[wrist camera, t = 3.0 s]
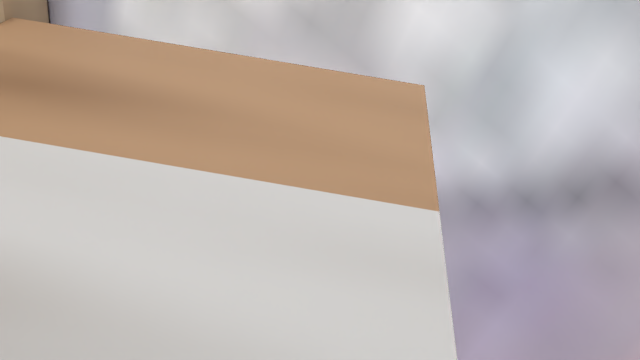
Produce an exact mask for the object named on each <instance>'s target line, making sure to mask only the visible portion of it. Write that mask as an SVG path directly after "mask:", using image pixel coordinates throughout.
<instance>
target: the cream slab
mask: <svg viewBox="0 0 640 360" xmlns="http://www.w3.org/2000/svg"><path fill="white" fill-rule="evenodd" d="M12 17H13V18H19V19H25V20H31V21H37V22H43V23H49V18H48V7H47V0H0V23H2V22H4V21H6V20H8V19H10V18H12Z"/></svg>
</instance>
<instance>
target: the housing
mask: <svg viewBox="0 0 640 360" xmlns="http://www.w3.org/2000/svg"><path fill="white" fill-rule="evenodd" d="M0 360H457V354H456V346H455V337H454V329H453V321H452V312H451V304H450V296H449V287H448V279H447V271H446V262H445V254H444V246H443V238H442V229H441V221H440V213H439V204H438V196H437V188H436V179H435V171H434V163H433V154H432V146H431V138H430V130H429V121H428V113H427V105H426V96H425V88H424V85H418V84H412V83H406V82H400V81H394V80H388V79H382V78H376V77H370V76H363V75H357V74H351V73H345V72H339V71H333V70H327V69H321V68H315V67H309V66H303V65H297V64H291V63H285V62H279V61H273V60H267V59H261V58H255V57H249V56H243V55H237V54H231V53H225V52H218V51H212V50H206V49H200V48H194V47H188V46H182V45H176V44H170V43H164V42H158V41H152V40H146V39H140V38H134V37H128V36H122V35H116V34H110V33H104V32H98V31H92V30H86V29H80V28H74V27H67V26H61V25H55V24H49V23H43V22H37V21H31V20H25V19H19V18H13V17H12V18H10V19H8V20H6V21H4V22H2V23H0Z"/></svg>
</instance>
